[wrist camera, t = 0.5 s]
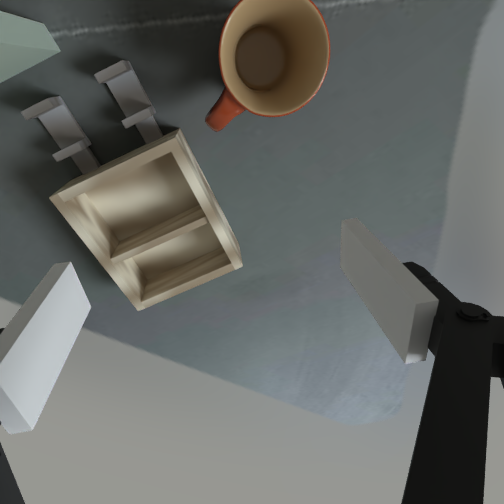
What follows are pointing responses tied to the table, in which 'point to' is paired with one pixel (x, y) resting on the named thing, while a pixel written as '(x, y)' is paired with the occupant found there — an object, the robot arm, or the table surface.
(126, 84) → the wooden divided box
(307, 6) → the mug
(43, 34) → the block
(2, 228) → the table surface
